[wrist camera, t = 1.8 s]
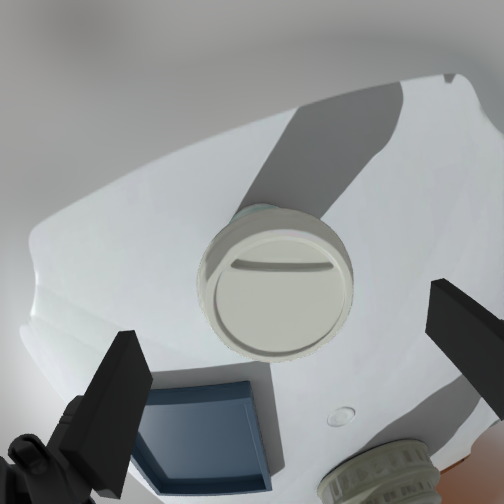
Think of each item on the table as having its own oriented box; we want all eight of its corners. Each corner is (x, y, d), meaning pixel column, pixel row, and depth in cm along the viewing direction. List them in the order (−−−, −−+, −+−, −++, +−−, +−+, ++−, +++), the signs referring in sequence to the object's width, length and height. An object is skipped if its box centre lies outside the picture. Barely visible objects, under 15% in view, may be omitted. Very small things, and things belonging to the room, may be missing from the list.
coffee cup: (329, 223, 27) (394, 277, 15) (272, 300, 29) (295, 390, 17) (247, 165, 25) (259, 177, 13) (190, 250, 27) (162, 323, 15)
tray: (100, 390, 31) (94, 405, 29) (249, 380, 31) (250, 397, 29) (159, 482, 38) (157, 495, 36) (270, 477, 38) (272, 490, 36)
